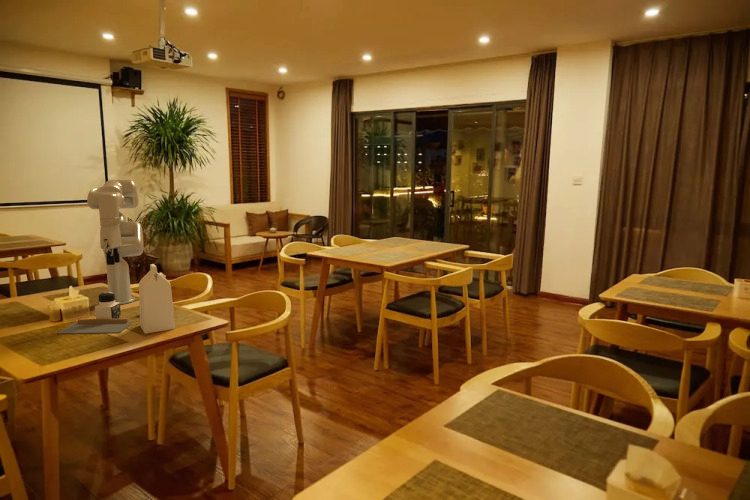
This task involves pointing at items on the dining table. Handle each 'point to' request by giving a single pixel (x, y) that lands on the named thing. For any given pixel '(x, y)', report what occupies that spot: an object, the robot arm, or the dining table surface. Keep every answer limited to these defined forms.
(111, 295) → the medicine bottle
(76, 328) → the tipping mat
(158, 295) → the milk
